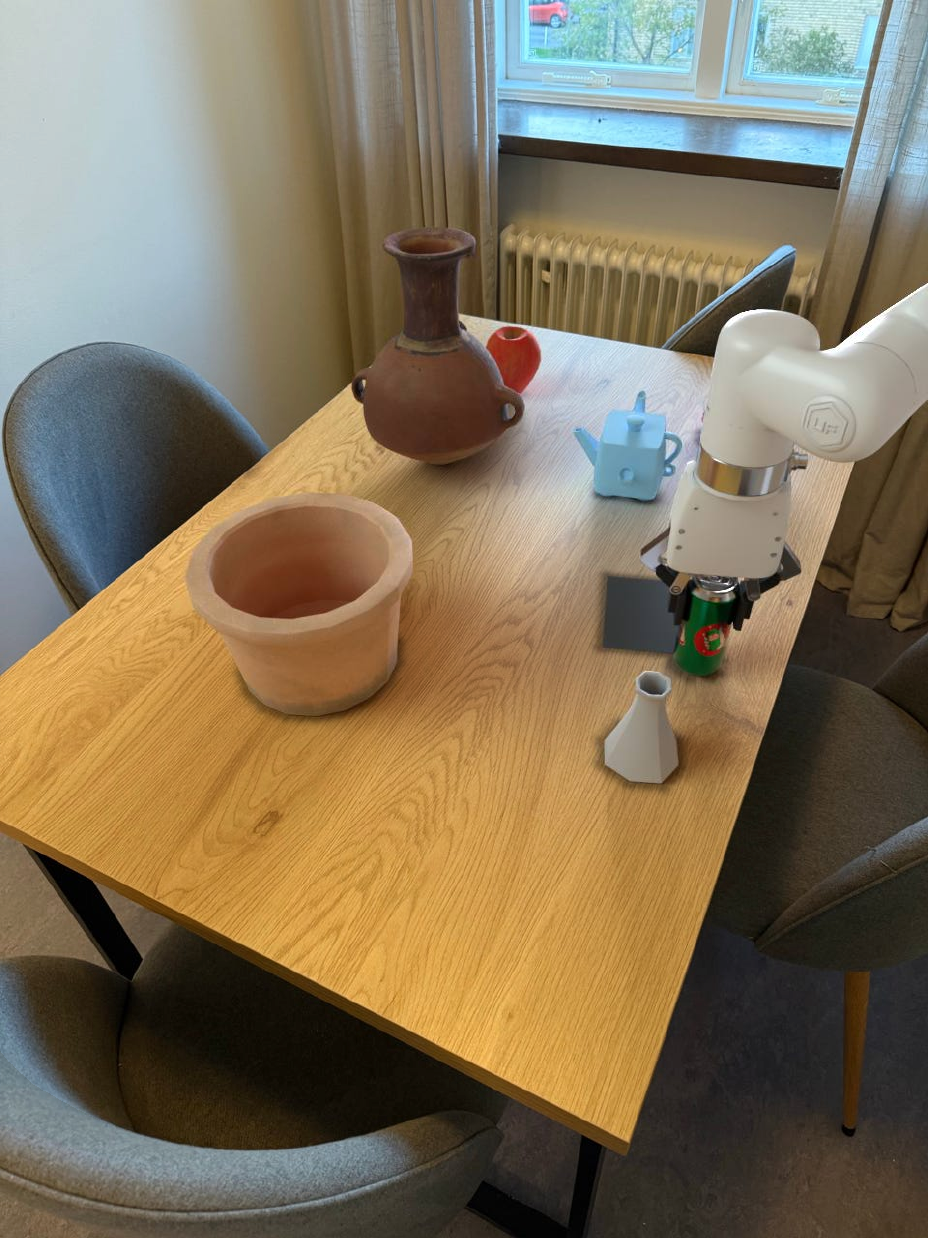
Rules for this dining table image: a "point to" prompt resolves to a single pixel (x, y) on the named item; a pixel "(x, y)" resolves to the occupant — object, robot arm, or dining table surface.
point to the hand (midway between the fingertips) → (706, 617)
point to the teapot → (630, 452)
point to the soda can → (706, 623)
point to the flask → (644, 734)
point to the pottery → (306, 597)
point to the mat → (638, 616)
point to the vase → (434, 361)
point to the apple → (515, 356)
